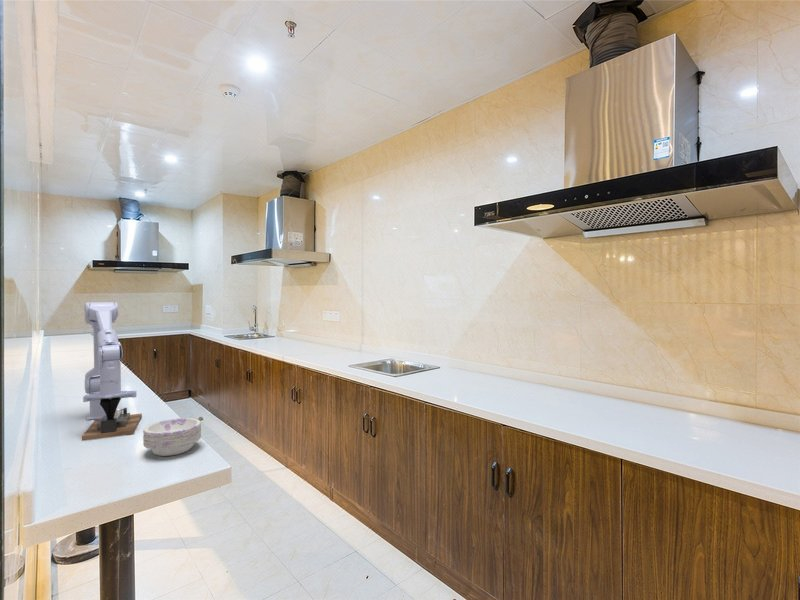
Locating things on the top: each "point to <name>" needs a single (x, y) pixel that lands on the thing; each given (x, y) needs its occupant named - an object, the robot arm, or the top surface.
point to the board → (121, 431)
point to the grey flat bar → (118, 413)
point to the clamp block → (113, 422)
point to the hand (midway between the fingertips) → (110, 420)
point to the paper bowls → (172, 436)
